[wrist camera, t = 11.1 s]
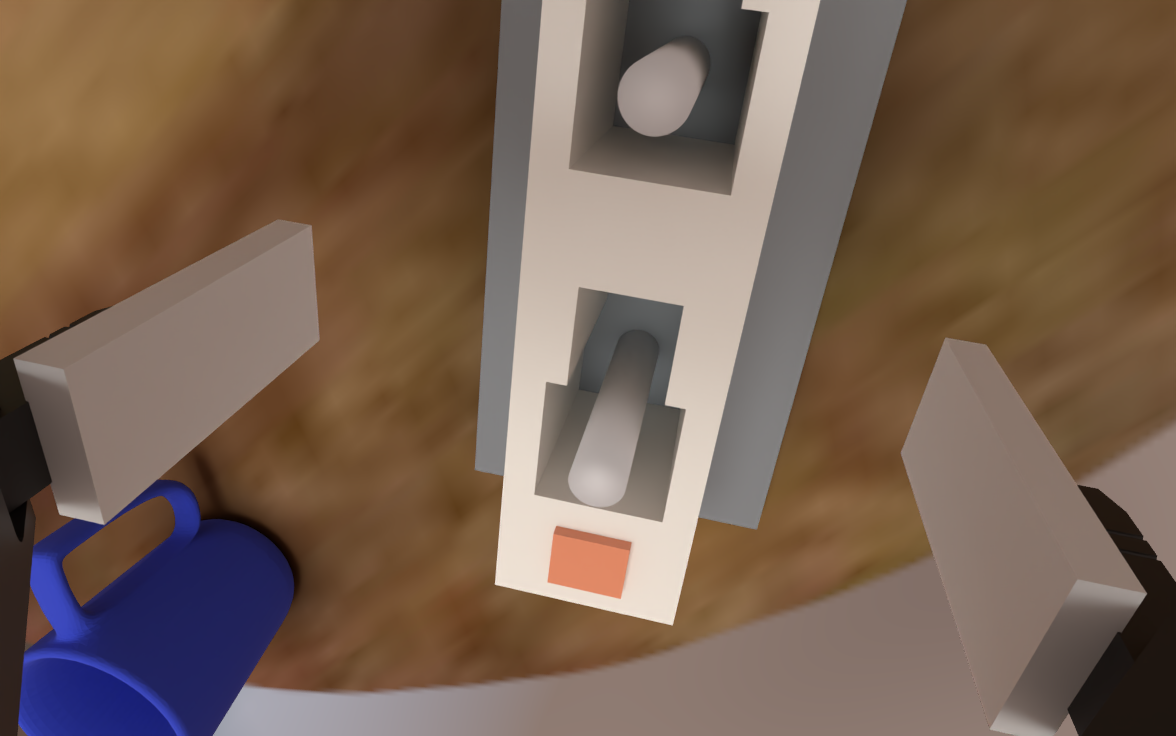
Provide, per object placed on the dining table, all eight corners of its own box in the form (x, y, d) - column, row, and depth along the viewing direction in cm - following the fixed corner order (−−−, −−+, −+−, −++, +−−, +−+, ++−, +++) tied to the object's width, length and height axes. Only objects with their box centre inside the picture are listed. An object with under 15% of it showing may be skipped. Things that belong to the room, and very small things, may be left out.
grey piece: (526, -225, 22) (380, -373, 13) (949, -181, 20) (1102, -314, 12) (483, 454, 33) (389, 619, 24) (756, 511, 32) (761, 708, 23)
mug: (266, 430, 35) (104, 577, 26) (333, 626, 40) (217, 805, 31) (118, 430, 36) (-82, 569, 28) (200, 618, 41) (53, 785, 33)
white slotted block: (615, -174, 21) (557, -251, 14) (832, -149, 20) (874, -219, 14) (544, 468, 31) (491, 592, 25) (687, 498, 30) (671, 634, 24)
